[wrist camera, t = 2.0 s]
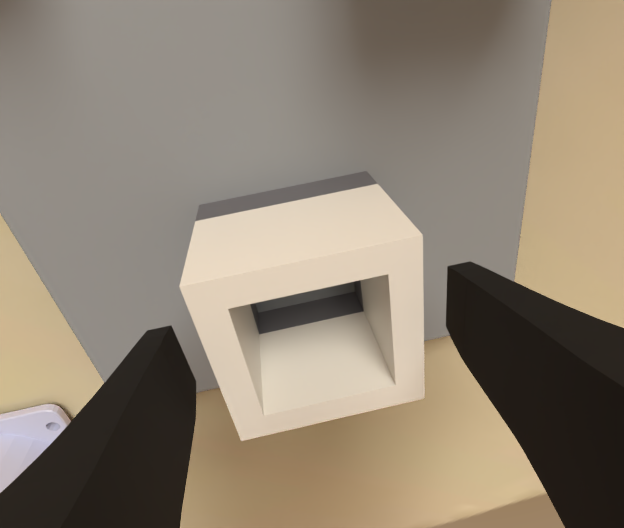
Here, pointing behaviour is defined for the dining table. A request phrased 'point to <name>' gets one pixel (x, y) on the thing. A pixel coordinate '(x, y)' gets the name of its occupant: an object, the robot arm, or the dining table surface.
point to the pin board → (254, 137)
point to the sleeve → (308, 303)
